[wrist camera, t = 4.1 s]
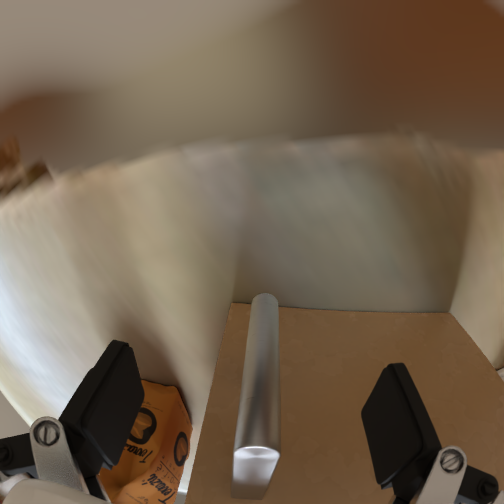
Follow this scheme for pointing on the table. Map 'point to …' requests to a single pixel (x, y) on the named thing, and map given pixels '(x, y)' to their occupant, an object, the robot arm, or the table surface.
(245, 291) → the table surface
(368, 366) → the door
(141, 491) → the coffee package
